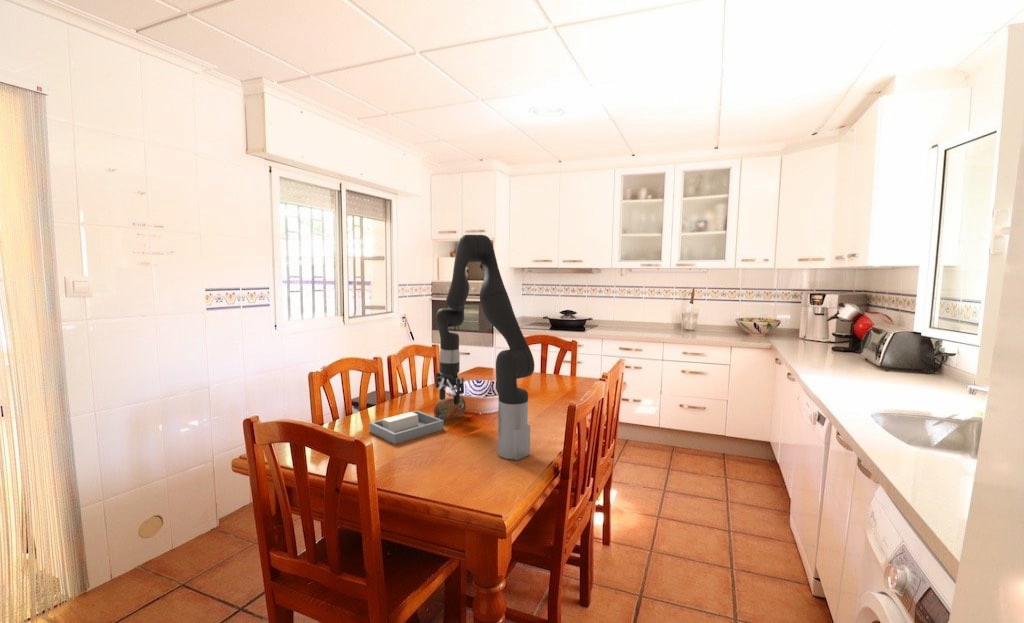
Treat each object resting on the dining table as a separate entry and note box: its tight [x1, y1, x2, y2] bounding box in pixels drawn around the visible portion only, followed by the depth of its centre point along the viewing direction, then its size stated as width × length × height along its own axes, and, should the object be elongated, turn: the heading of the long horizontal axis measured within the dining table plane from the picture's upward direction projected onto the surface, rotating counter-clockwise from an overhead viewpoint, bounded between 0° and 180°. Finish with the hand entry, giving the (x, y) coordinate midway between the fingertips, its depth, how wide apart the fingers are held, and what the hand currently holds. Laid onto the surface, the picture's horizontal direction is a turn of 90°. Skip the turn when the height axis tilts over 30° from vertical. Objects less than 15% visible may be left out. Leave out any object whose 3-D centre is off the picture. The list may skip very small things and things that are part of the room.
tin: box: [433, 395, 467, 422], centre depth 176 cm, size 15×3×8 cm, turn 143°
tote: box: [368, 410, 445, 445], centre depth 161 cm, size 16×20×4 cm
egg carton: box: [381, 411, 418, 432], centre depth 163 cm, size 4×12×4 cm, turn 136°
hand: (449, 401), depth 175 cm, fingers open, 8 cm apart
